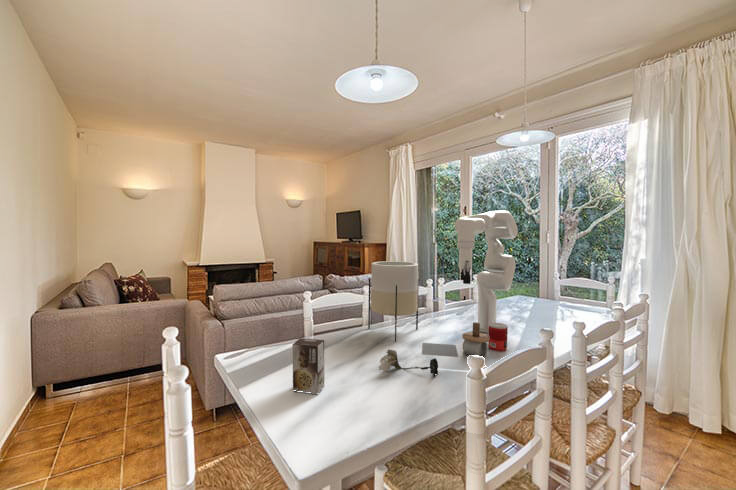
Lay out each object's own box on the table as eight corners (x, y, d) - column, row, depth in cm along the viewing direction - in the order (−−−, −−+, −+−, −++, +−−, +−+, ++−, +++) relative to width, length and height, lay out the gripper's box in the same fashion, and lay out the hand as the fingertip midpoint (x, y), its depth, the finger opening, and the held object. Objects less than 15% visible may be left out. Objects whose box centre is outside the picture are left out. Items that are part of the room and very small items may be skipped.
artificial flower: (435, 385, 122) (430, 361, 119) (377, 379, 132) (372, 357, 129) (440, 369, 129) (436, 346, 127) (385, 365, 139) (380, 343, 137)
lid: (461, 333, 152) (461, 319, 152) (486, 335, 151) (487, 320, 150) (464, 341, 141) (464, 326, 141) (492, 343, 140) (492, 327, 139)
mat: (422, 344, 161) (422, 342, 161) (455, 346, 158) (455, 345, 158) (421, 355, 146) (421, 354, 146) (458, 358, 143) (458, 356, 143)
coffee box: (325, 386, 116) (325, 339, 116) (318, 395, 110) (318, 345, 109) (300, 383, 119) (300, 337, 118) (291, 392, 112) (291, 343, 112)
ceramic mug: (469, 351, 152) (470, 334, 151) (487, 356, 146) (487, 338, 146) (457, 357, 144) (457, 340, 144) (476, 363, 139) (476, 344, 138)
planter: (410, 345, 159) (412, 267, 157) (356, 338, 168) (357, 264, 166) (420, 329, 184) (422, 262, 182) (373, 324, 193) (374, 260, 191)
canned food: (508, 352, 151) (509, 327, 150) (489, 351, 152) (490, 326, 152) (505, 346, 158) (505, 323, 158) (487, 345, 160) (487, 322, 159)
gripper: (455, 244, 168) (455, 278, 169) (459, 246, 151) (459, 285, 152) (471, 244, 167) (471, 278, 168) (477, 246, 150) (476, 285, 151)
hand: (465, 281), depth 160 cm, fingers open, 9 cm apart
